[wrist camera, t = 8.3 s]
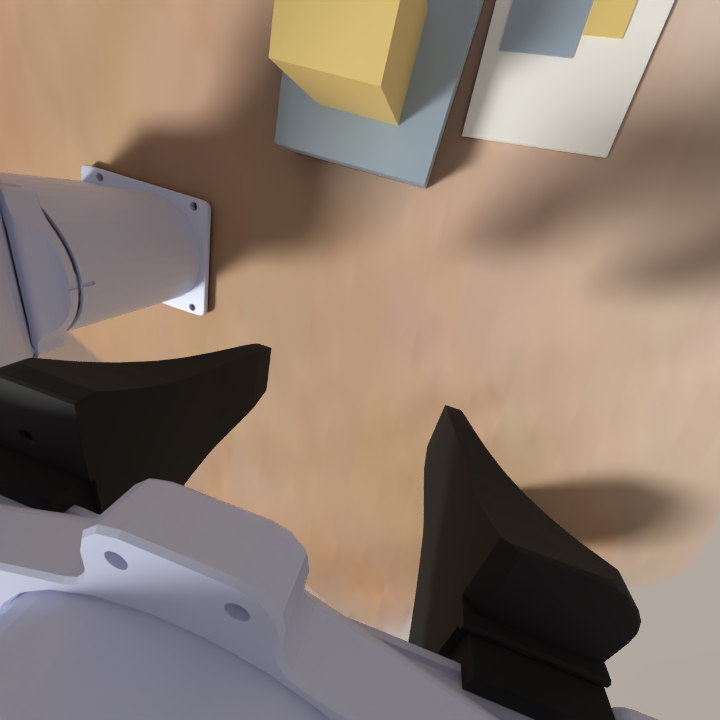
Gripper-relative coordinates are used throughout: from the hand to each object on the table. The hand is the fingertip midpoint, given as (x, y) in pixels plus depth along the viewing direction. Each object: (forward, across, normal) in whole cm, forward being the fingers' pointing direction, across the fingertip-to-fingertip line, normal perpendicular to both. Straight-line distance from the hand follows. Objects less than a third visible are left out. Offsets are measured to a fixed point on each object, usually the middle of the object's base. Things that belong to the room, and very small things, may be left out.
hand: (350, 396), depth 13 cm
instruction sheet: (+10, -4, -16) cm, 19 cm away
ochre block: (+7, +4, -12) cm, 15 cm away
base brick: (+10, +4, -12) cm, 16 cm away
